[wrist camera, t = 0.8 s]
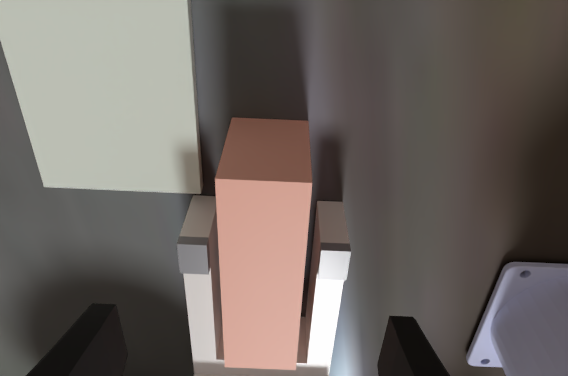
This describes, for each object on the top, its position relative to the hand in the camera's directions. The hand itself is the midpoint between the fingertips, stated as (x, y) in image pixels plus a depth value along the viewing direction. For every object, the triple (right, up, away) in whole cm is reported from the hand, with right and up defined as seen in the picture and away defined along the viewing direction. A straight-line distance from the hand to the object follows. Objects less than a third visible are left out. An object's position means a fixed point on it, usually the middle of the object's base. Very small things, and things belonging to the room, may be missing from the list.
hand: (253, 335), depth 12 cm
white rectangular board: (-6, +10, +5) cm, 12 cm away
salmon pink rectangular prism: (0, +3, +10) cm, 10 cm away
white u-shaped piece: (0, -2, +12) cm, 13 cm away
